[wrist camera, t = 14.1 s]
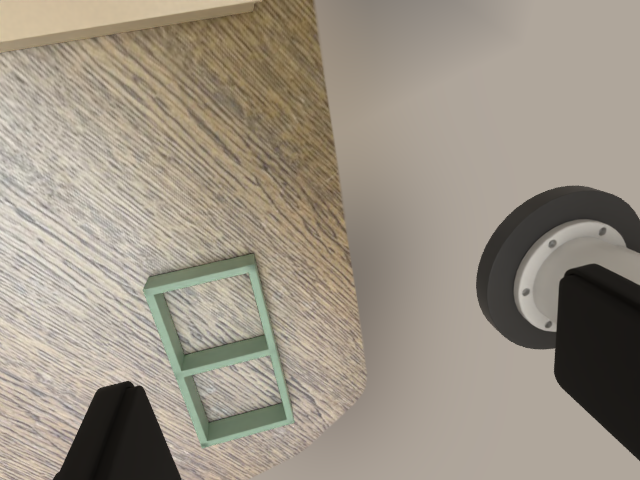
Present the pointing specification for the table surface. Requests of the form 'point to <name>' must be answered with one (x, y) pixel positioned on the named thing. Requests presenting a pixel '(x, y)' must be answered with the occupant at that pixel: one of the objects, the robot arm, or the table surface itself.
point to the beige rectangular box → (100, 18)
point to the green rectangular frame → (219, 352)
